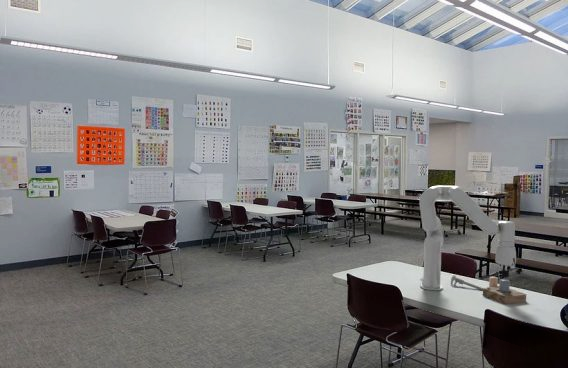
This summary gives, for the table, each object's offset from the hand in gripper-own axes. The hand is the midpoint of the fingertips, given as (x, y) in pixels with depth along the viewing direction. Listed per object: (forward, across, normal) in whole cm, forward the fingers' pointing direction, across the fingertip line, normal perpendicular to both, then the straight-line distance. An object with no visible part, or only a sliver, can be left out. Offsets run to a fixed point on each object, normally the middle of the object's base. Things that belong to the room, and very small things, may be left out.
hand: (505, 277), depth 237 cm
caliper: (+12, -22, -4) cm, 26 cm away
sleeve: (+12, 0, 0) cm, 12 cm away
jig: (+12, 0, 0) cm, 12 cm away
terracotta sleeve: (+12, -12, +5) cm, 18 cm away
